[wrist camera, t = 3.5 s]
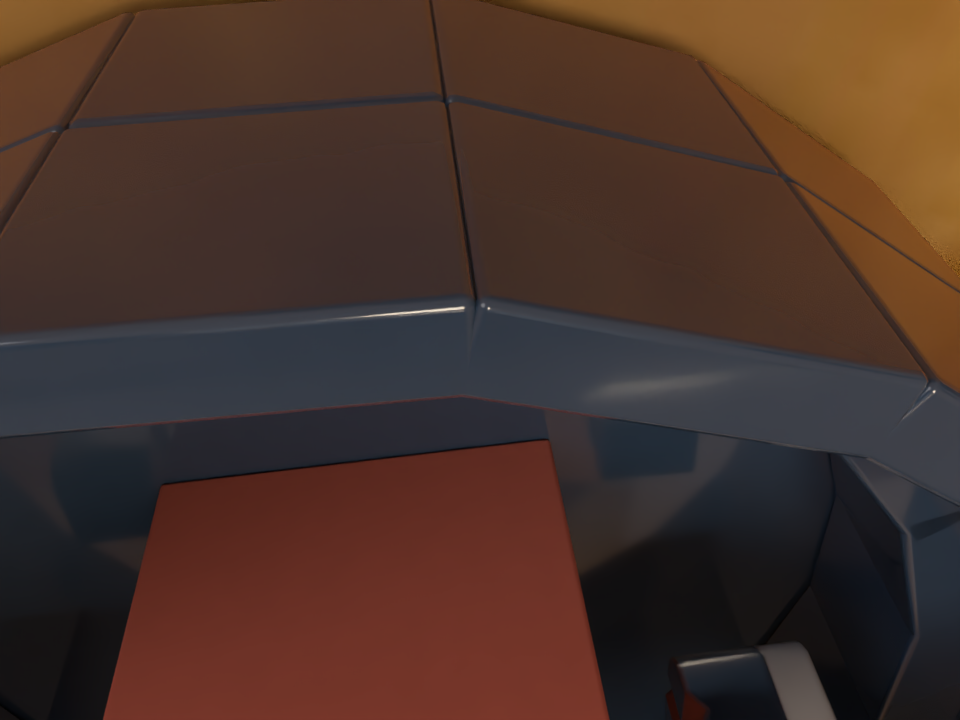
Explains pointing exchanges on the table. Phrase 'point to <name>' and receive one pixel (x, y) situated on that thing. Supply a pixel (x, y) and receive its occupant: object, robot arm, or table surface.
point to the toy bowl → (473, 329)
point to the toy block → (363, 596)
